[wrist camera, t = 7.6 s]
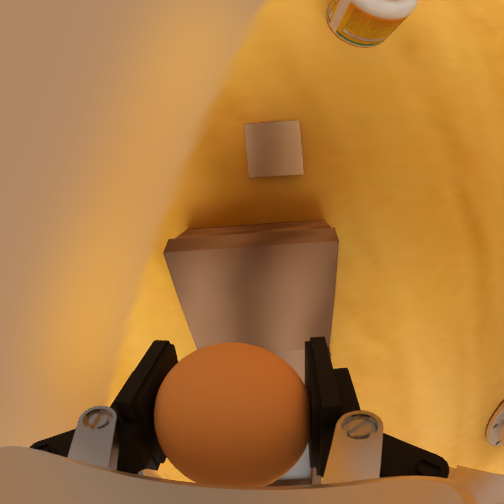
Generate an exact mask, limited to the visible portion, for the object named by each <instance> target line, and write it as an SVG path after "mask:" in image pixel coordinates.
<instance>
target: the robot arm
mask: <svg viewBox="0 0 504 504" xmlns="http://www.w3.org/2000/svg"><path fill="white" fill-rule="evenodd" d="M177 363H178V360H177V355H176V350H175V346H174V345H173V344H170V342H169V341H162V340H155V341H154V342H153V343H152V345H151V346H150V348H149V349H148V351H147V352H146V354H145V355H144V357H143V358H142V360H141V361H140V363H139V364H138V366H137V367H136V369H135V370H134V371H133V372H132V374H131V375H130V377H129V378H128V380H127V381H126V383H125V385H124V386H123V388H122V389H121V391H120V392H119V394H118V395H117V397H116V398H115V400H114V402H113V403H112V405H111V406H110V407H107V406H96V407H93V408H90V409H88V410H86V411H85V412H84V413H83V414H82V415H81V416H80V418H79V421H78V424H77V427H76V429H74V430H71V431H68V432H65V433H62V434H59V435H56V436H53V437H50V438H47V439H44V440H41V441H38V442H36V443H34V444H33V445H32V446H30V448H27V447H20V446H19V447H18V446H6V447H0V504H504V475H501V474H495V473H490V472H485V471H480V470H475V469H471V468H466V467H462V466H457V467H456V469H455V468H451V467H449V466H448V463H447V462H446V461H445V460H444V459H443V458H442V457H440V456H438V455H436V454H434V453H431V452H429V451H426V450H423V449H421V448H418V447H416V446H413V445H411V444H408V443H406V442H404V441H401V440H399V439H396V438H394V437H392V436H389V435H387V434H385V433H383V422H382V420H381V419H380V418H379V417H378V416H377V415H375V414H374V413H371V412H368V411H361V410H360V407H359V403H358V400H357V397H356V393H355V390H354V387H353V383H352V380H351V377H350V374H349V371H348V368H338V369H333V367H332V363H331V359H330V355H329V351H328V347H327V343H326V339H325V336H323V337H310V341H305V387H306V389H307V391H308V394H309V397H310V405H311V436H310V439H309V442H308V448H309V461H310V468H316V475H317V476H321V477H323V480H322V484H314V485H297V486H232V485H215V484H202V483H192V482H183V481H175V480H168V479H161V478H154V477H148V476H143V471H142V470H144V469H152V470H158V468H159V465H160V463H164V462H165V460H166V455H165V454H164V452H163V450H162V448H161V446H160V444H159V441H158V439H157V435H156V431H155V427H154V406H155V400H156V397H157V393H158V391H159V388H160V386H161V384H162V382H163V380H164V379H165V377H166V376H167V374H168V373H169V372H170V370H171V369H172V368H173V367H174V366H175V365H176V364H177ZM486 439H487V440H488V442H489V444H491V445H492V446H501V445H503V446H504V402H503V403H502V404H501V405H500V407H499V408H498V409H497V411H496V412H495V414H494V415H493V417H492V418H491V420H490V422H489V424H488V427H487V430H486Z"/></svg>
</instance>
